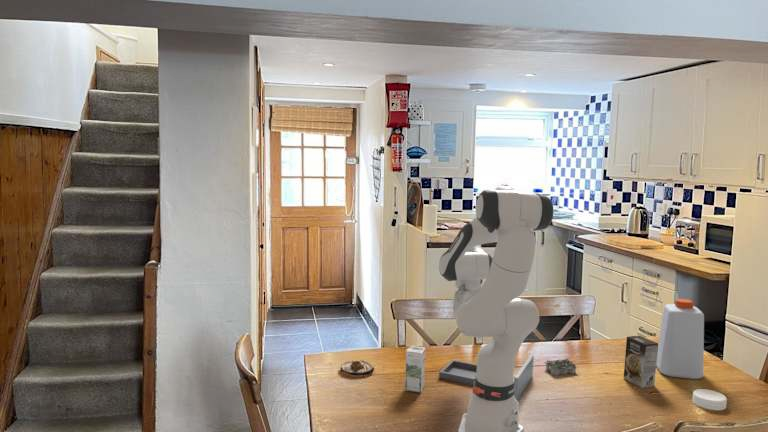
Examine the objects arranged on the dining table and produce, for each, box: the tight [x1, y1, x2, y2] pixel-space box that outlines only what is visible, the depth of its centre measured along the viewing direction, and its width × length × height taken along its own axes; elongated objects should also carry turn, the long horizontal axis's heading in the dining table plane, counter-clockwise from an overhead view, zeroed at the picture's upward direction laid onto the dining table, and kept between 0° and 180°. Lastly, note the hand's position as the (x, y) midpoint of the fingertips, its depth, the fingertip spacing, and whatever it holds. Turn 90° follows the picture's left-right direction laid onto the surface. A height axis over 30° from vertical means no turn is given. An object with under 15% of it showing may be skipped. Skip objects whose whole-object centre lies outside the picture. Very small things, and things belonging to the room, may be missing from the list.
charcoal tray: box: [438, 359, 477, 387], centre depth 212 cm, size 14×14×2 cm
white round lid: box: [692, 388, 728, 411], centre depth 192 cm, size 10×10×4 cm
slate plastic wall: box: [514, 354, 534, 401], centre depth 202 cm, size 24×1×8 cm, turn 153°
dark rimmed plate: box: [340, 359, 375, 378], centre depth 213 cm, size 15×15×4 cm
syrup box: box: [404, 345, 426, 394], centre depth 198 cm, size 6×6×14 cm
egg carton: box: [544, 358, 579, 376], centre depth 218 cm, size 11×8×4 cm
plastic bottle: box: [656, 298, 705, 380], centre depth 219 cm, size 15×15×28 cm
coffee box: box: [623, 335, 658, 389], centre depth 208 cm, size 9×6×16 cm
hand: (465, 319), depth 209 cm, fingers closed on rubber ball, 6 cm apart
